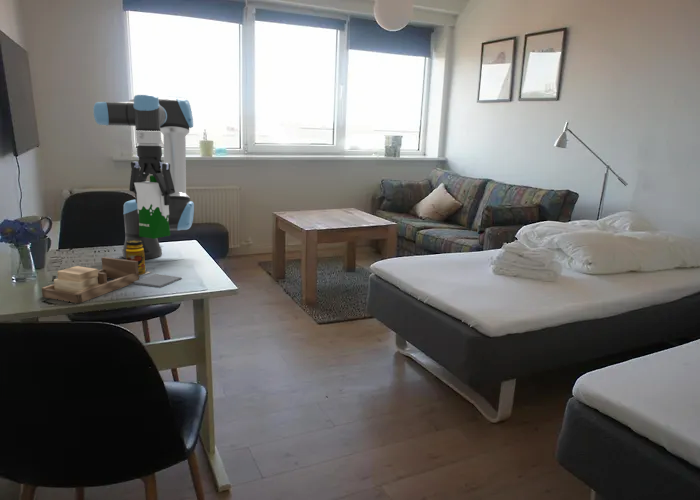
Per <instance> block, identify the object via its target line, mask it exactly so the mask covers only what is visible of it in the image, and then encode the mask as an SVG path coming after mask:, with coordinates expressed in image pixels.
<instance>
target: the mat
mask: <svg viewBox="0 0 700 500" xmlns="http://www.w3.org/2000/svg"><path fill="white" fill-rule="evenodd" d="M181 280H182V276H175V275H166V274H161V273H154V274H151V275H148V276H146V277H143V278H141V279H140V278H139V280H137V281H134V282H133V284H135V285H142V286H146V287H147V286H148V287H153V286H154V287H155V288H163V287H165V286H167V285H170V284H173V283H175V282H177V281H181Z"/></svg>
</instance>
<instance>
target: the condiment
mask: <svg viewBox="0 0 700 500" xmlns="http://www.w3.org/2000/svg"><path fill="white" fill-rule="evenodd" d="M126 244H127V246H126V247H127V249H126V258H125V260H131V261H138V272H139V277H140V276H144V275H147V274H149V273H152V271H147V270H146V269H147V268H146V261H145V260H146V259H145V255H144V248H143V247H142V246H143V245H142V241H141V240H131V241H127V242H126Z"/></svg>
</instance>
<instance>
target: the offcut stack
mask: <svg viewBox="0 0 700 500" xmlns="http://www.w3.org/2000/svg"><path fill="white" fill-rule="evenodd" d="M98 270H99V269H98V268H93V267H87V266H86V267H85V266H79V265H76V266H72V267H71V266H70V267H67V268H64V269H61V270H60V269H59V270H57V272H56V273H57V278H55V279H53V284H54V288H55V290H59V291H65V292H72V293H77V292H80V291H83V290H86V289H88V288H91V287H94V286H97V285H100V284H98Z"/></svg>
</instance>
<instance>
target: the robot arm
mask: <svg viewBox="0 0 700 500" xmlns="http://www.w3.org/2000/svg"><path fill="white" fill-rule="evenodd" d="M93 118H94V120H95V122H96V124H97V125H99V126H107V127H108V126H115V127H116V126H117V127H118V126H119V127H120V126H122V127H123V126H125V127H126V126H129V127H130V126H131V127H132V126H133V127H135V139H136V140H135V142H136V144H138V145H137V146H136V153H137V154H136V156H137V157H138V160H137V161H131V162H130V168H131V170H130V171H131V173H130V182H129V188H128V190H129V192H133V193H134V196H135V197H134V198H135V199H131V200H128V201H125V202H124V204H123V214H122V215H123V221H124V232H125V233H124V235H125V238H124V241H123V246H122V247H123V248H122V250H121V253H122V254H121V257H122V259H126V249H127V247H126V246H127V244H126V242H127V241H131V240H141V241H142V245H143V246H142V247H143V248H144V255H145V260H150V259H155V258H158V257H160V256H162V255H163V252H162V251H163V250H162V247H161V244H160V242H159V238H155V239H152V238H146V237H139V210H138V197H137V192H136V188H135V185H134V183H137V182H146V181H147V180H148V179H147V178H148V176H150V175H153V176H154V177H155V179H156V181H157V183H158V184H159V187H160V190H161V192H162V196H161V210H162V216H165V215H168V219H169V228H170V231H187V230H189V229H191V227H192V225H193V222H194V214H195V203H194V201H192V200H191V197H190V196H189V195H188V194H187V170H186V169H187V167H186V166H187V163H186V162H187V160H186V159H187V157H186V156H187V155H186V154H187V151H186V150H187V149H186V146H187V145H186V139H187V138H186V137H187V135H188V134H189V133H190V129H191V128H193V127H194V119H193V112H192V107H191V105H190V101H189V100H188V99H187V98H181V97H180V98H179V97H160V96H159V97H158V96H157V95H152V94H136V95H134V97H133V99H130V100H128V101H96V102H95V103H94V105H93ZM162 135H163V149H162V145H161V144H162ZM162 157H163V161H162Z"/></svg>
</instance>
